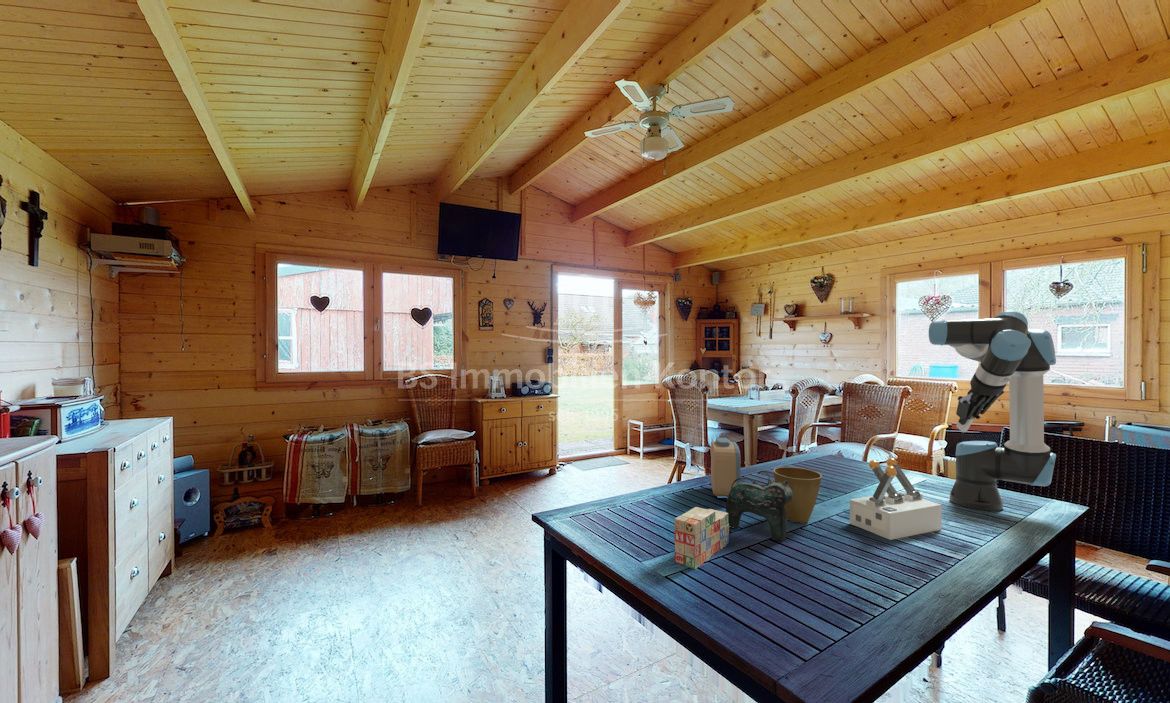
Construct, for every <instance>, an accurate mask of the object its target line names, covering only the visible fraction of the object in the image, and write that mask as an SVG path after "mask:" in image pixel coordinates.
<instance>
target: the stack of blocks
mask: <svg viewBox="0 0 1170 703" xmlns="http://www.w3.org/2000/svg"><path fill="white" fill-rule="evenodd" d="M728 543H729V544H730V527H729V514H728V513H726V511H723V510H722V511H721V510H718V509H712V508H708V509H707V508H702V507H698V506H695V507H693V508H691V509H690V510H688V511H686V512H684V513H683V514H680V515H679V516H677V517H674V563H675V562H676V563H675V564H678V563H679V565H681V564H682V565H681V566H684V565H685V566H684V567H687V566H688V567H687V568H690V569H694V570H696V569H697V568H699V567H700V566H702V565H704V564H705V563H706V562H707V561H709V560H710V559H711V558H712V557H713V556H714V555H715V554H714V553H716V552H717V551H718V550H719V551H721V550H723V549H724V548H725V547H726V546H728V545H729V544H728ZM727 544H728V545H727ZM723 547H724V548H723ZM720 549H721V550H720ZM719 551H718V552H719ZM718 552H717V553H718ZM717 553H716V554H717ZM713 554H714V555H713ZM712 555H713V556H712ZM711 556H712V557H711ZM710 557H711V558H710ZM709 558H710V559H709ZM708 559H709V560H708ZM705 561H706V562H705ZM704 562H705V563H704Z"/></svg>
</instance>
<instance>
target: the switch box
mask: <svg viewBox="0 0 1170 703" xmlns="http://www.w3.org/2000/svg"><path fill="white" fill-rule="evenodd" d="M896 492H897V493H899V494H901V496H902V500H899V501H894V499H893V498H890V497H888V494H887V493H885V495H884V497H883V503H880V504H875V502H874V501H871V500H869V498H871V497H873V495H872V496H871V495H870V496H861V497H856V498H851V499H849V524H850V525H852V526H855V527H857V528H859V529H863V530H865V531H867V532H871V533H872V534H874V535H877V536H880V537H882V538H885V539H887V540H890V541H891V540H898V539H902V538H906V537H911V536H912V537H913V536H918V535H922V534H928V533H931V532H936V531H942V530H943V525H942V524H943V522H942V521H943V516H942V515H943V513H942V512H943V505H942V504H941V503H937V502H934V501H932V500H928V499H925V498H923V497H924V494H923V493H920V497H918V498H913V496H911V495H908V494H906V493H904V492H900V491H896ZM897 493H896V494H897Z"/></svg>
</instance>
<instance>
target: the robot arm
mask: <svg viewBox="0 0 1170 703" xmlns="http://www.w3.org/2000/svg"><path fill="white" fill-rule="evenodd" d="M1028 326H1029V321H1028V318H1027V317H1026V316H1025V315H1024V314H1023V313H1021V312H1018V311H1015V310H1004V311H1003V312H1000V313H998V314H996V316H994V318H976V319H975V318H974V319H952V320H951V319H949V320H948V319H947V320H946V319H942V320H934V321H932V322H930V324H929V326H928V327H929V328H928V341H929V342H930V344H931V345H935V346H936V345H937V346H949V347H952V348H953V349H955V351H956V353H957V354H958V355H960V356H962V357H963V358H965V359H968V360H972V361H975V362H980V363H979V365H978V366H977V368H976V370H975V372H974V374H973V376H972V377H971V380H970V383H969V384H970V390H968V391H967V395H965V396H958V397H957V400H958V403H957V407H956V412H955V414H956V416H958V417H959V419H958V421H957V422H956V425H955V427H956V428H957V429H958V430H960V432H961V433H966V432H968V430H969V428H970V427H971V425H972V424H973V422H974V420H975V419H976V420H980V419H981V418H982V417H981V416H980V415H984V414H985V413H986V412H987V411H988V410H989V409H990V407H992V405H993V404H994V403H995V402H996V401H997V400H998V398H999V397H1001V396H1002V395H1003V394H1005V391H1004V389H1005V388H1006V386H1007V384H1008V393H1009V395H1008V396H1009V397H1008V400H1009V402H1008V403H1009V405H1008V406H1009V411H1008V412H1009V440H1007V441H1006V442H1004V445H1003V446H1004V447H1001V446H998V443H997V442H996V441H989V440H969V441H968V440H967V441H962V442H958V443H956V448H955V481H954V483H953V486H952V488H951V490H950V493H949V501H951V503H954V504H956V505H958V506H961V507H965V508H969V509H975V510H980V511H991V512H992V511H993V512H994V511H1002V510H1003V509H1004V502H1003V499H1002V497H1001V494H1000V492H999V489H998V486H997V480H999V481H1006V482H1011V483H1013V482H1014V483H1017V484H1023V485H1024V484H1025V485H1030V486H1039V487H1049V486H1050V485H1051V483H1052V479H1053V474H1054V469H1055V463H1056V459H1057V454H1056V453H1054V452H1051V447H1050V446H1049V445H1047V444H1046V443H1045V426H1044V425H1045V419H1044V418H1045V416H1044V415H1045V413H1044V412H1045V411H1044V409H1045V408H1044V407H1045V406H1044V403H1045V402H1044V400H1045V398H1044V393H1045V392H1044V375H1045V374H1046V373H1048V372H1049V371H1050V370H1051V367H1050V366H1054V365H1056V364H1057V356H1056V351H1055V350H1056V349H1055V345H1054V340H1053V336H1052V334H1051V332H1049V330H1045V329H1031V328H1028Z"/></svg>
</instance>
